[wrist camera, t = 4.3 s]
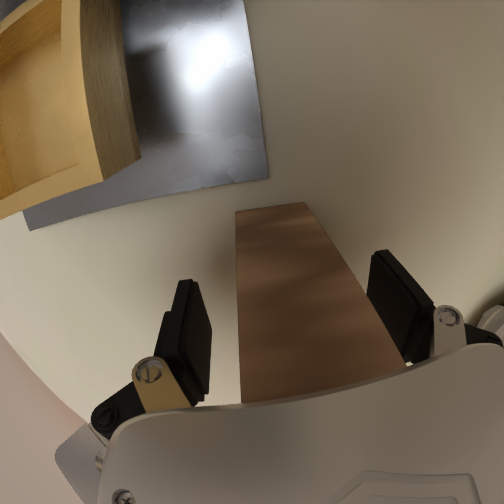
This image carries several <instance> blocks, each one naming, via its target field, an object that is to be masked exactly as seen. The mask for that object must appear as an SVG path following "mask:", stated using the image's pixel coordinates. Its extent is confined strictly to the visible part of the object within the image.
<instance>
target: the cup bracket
mask: <svg viewBox="0 0 504 504" xmlns="http://www.w3.org/2000/svg"><path fill="white" fill-rule="evenodd" d="M266 178H269V176H268V167H267V159H266V151H265V143H264V135H263V128H262V120H261V113H260V105H259V98H258V91H257V84H256V77H255V71H254V64H253V57H252V51H251V45H250V38H249V32H248V26H247V20H246V14H245V9H244V3H243V0H0V220H1V219H4V218H6V217H8V216H10V215H12V214H15V213H17V212H19V211H22V212H23V215H24V217H25V220H26V223H27V226H28V228H29V231H32V230H35V229H38V228H41V227H45V226H48V225H51V224H54V223H57V222H61V221H64V220H68V219H71V218H74V217H78V216H82V215H85V214H89V213H93V212H96V211H100V210H104V209H108V208H112V207H116V206H120V205H124V204H128V203H133V202H137V201H141V200H146V199H150V198H155V197H160V196H165V195H170V194H175V193H180V192H185V191H190V190H196V189H201V188H207V187H213V186H219V185H225V184H231V183H237V182H244V181H251V180H258V179H266Z"/></svg>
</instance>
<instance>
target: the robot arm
mask: <svg viewBox="0 0 504 504" xmlns="http://www.w3.org/2000/svg"><path fill="white" fill-rule="evenodd" d="M366 295H367V297H368V299H369V300H370V302H371V303H372V305H373V307H374V308H375V310H376V312H377V314H378V315H379V317H380V319H381V320H382V322H383V324H384V326H385V327H386V329H387V331H388V333H389V334H390V336H391V338H392V340H393V342H394V343H395V345H396V347H397V349H398V351H399V353H400V354H401V356H402V358H403V360H404V362H405V363H407V362H410V361H411V363H413V365H411V366H408V367H405V368H402V369H399V370H396V371H393V372H390V373H387V374H384V375H381V376H377V377H374V378H370V379H367V380H363V381H360V382H356V383H352V384H348V385H344V386H340V387H336V388H332V389H327V390H323V391H318V392H313V393H308V394H303V395H297V396H292V397H286V398H279V399H273V400H266V401H258V402H249V403H239V404H229V405H217V406H202V407H194V406H195V405H197V404H198V402H202V401H204V396H205V394H208V393H209V377H210V358H211V341H212V328H211V324H210V321H209V318H208V315H207V311H206V308H205V305H204V302H203V299H202V295H201V292H200V289H199V285H198V283H197V282H193V280H192V279H187V280H180V281H179V282H178V286H177V289H176V293H175V297H174V301H173V305H172V309H171V311H166V312H165V314H164V317H163V320H162V324H161V328H160V332H159V335H158V339H157V343H156V347H155V351H154V355H153V356H152V357H147V358H144V359H142V360H140V361H139V362H138V363H137V364H136V365H135V366H134V368H133V370H132V379H133V381H132V382H131V383H129V384H128V385H126V386H125V387H124V388H122V389H121V390H119V391H118V392H117V393H115V394H114V395H112V396H111V397H110V398H108V399H107V400H105V401H104V402H102V403H101V404H100V405H98V406H97V407H96V408H95V409H94V411H93V412H92V415H91V423H89V424H86V423H85V424H84V425H83V426H82V427H81V428H79V429H78V430H77V431H76V432H75V433H74V434H73V435H71V436H70V437H69V438H68V439H67V440H66V441H65V442H64V443H63V444H61V445H60V446H59V447H58V449H57V450H56V453H55V460H56V463H57V465H58V467H59V468H60V470H61V471H62V473H63V474H64V476H65V477H66V479H67V480H68V482H69V483H70V485H71V486H72V487H73V489H74V490H75V492H76V493H77V494H78V496H79V497H80V498H81V500H82V501H83V502H84V503H85V504H504V346H503V343H502V340H501V339H500V337H499V336H497V335H496V334H495V333H492V332H490V331H487V330H483V329H480V328H477V327H474V326H471V325H468V324H465V323H464V320H463V316H462V314H461V313H460V311H459V310H457V309H456V308H454V307H452V306H449V305H441V306H439V307H437V308H436V307H435V306H434V305H433V304H434V302H433V301H432V300H431V299H430V298H429V296H428V295H427V294H426V293H425V291H424V290H423V289H422V288H421V287H420V285H419V284H418V283H417V282H416V281H415V279H414V278H413V277H412V276H411V275H410V274H409V273H408V271H407V270H406V269H405V268H404V267H403V266H402V265H401V263H400V262H399V261H398V260H397V259H396V258H395V257H394V256H393V255H392V254H391V252H390V251H389V250H387V249H385V250H379V251H376V252H375V253H374V255H372V257H371V264H370V273H369V280H368V287H367V294H366Z"/></svg>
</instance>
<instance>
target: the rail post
mask: <svg viewBox="0 0 504 504" xmlns="http://www.w3.org/2000/svg"><path fill="white" fill-rule="evenodd" d="M235 229H236V273H237V308H238V337H239V362H240V386H241V403H249V402H258V401H266V400H273V399H279V398H286V397H292V396H297V395H303V394H308V393H313V392H318V391H323V390H327V389H332V388H336V387H340V386H344V385H348V384H352V383H356V382H360V381H363V380H367V379H370V378H374V377H377V376H381V375H384V374H387V373H390V372H393V371H396V370H399V369H402V368H405V367H407V366H406V364H405V362H404V360H403V358H402V356H401V354H400V353H399V351H398V349H397V347H396V345H395V343H394V342H393V340H392V338H391V336H390V334H389V333H388V331H387V329H386V327H385V326H384V324H383V322H382V320H381V319H380V317H379V315H378V314H377V312H376V310H375V308H374V307H373V305H372V303H371V302H370V300H369V299H368V297H367V295H366V294H365V292H364V290H363V289H362V287H361V286H360V284H359V282H358V281H357V279H356V278H355V276H354V274H353V273H352V271H351V270H350V268H349V267H348V265H347V264H346V262H345V260H344V259H343V257H342V256H341V254H340V253H339V251H338V250H337V248H336V247H335V245H334V244H333V242H332V241H331V240H330V238H329V237H328V235H327V234H326V232H325V231H324V229H323V228H322V227H321V225H320V224H319V222H318V221H317V219H316V218H315V217H314V215H313V214H312V212H311V211H310V210H309V208H308V207H307V205H306V204H305V203H304V202H303V203H295V204H287V205H279V206H272V207H264V208H257V209H250V210H244V211H237V212H235Z"/></svg>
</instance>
